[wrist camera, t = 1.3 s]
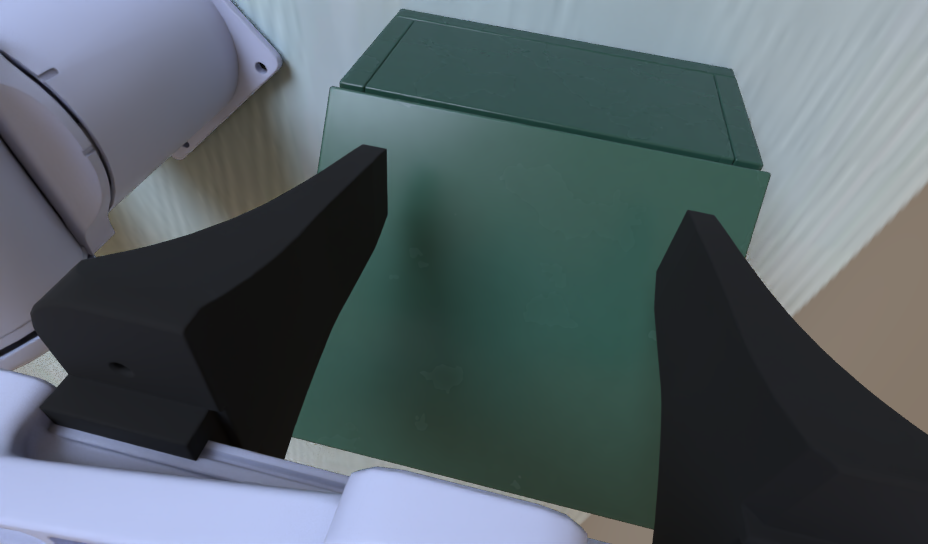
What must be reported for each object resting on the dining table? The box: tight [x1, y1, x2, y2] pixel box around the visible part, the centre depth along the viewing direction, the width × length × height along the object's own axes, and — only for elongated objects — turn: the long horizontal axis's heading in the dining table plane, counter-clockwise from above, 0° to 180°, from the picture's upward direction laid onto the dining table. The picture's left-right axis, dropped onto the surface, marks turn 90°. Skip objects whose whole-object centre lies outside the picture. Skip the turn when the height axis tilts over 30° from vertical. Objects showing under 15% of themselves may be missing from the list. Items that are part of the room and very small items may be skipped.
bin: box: [340, 9, 763, 171], centre depth 22 cm, size 11×13×6 cm
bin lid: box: [292, 86, 770, 530], centre depth 16 cm, size 11×13×1 cm
